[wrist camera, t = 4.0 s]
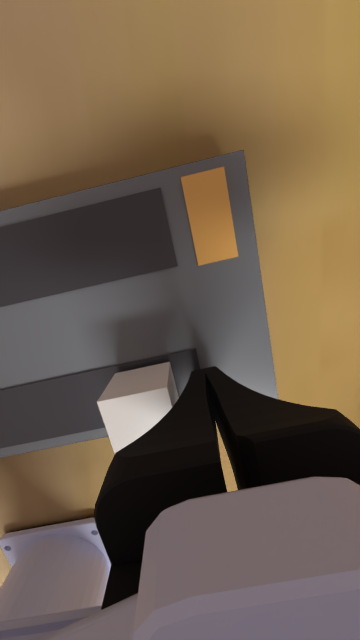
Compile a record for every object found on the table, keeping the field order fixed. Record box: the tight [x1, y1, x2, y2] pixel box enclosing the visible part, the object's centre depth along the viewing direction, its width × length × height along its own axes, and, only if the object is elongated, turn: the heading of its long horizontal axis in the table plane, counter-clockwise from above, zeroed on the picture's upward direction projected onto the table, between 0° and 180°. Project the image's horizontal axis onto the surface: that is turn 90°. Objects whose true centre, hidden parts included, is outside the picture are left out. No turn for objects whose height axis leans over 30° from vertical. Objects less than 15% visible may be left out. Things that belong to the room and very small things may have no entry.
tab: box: [97, 362, 179, 453], centre depth 10 cm, size 3×3×3 cm
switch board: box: [0, 150, 278, 458], centre depth 12 cm, size 13×24×2 cm, turn 103°
